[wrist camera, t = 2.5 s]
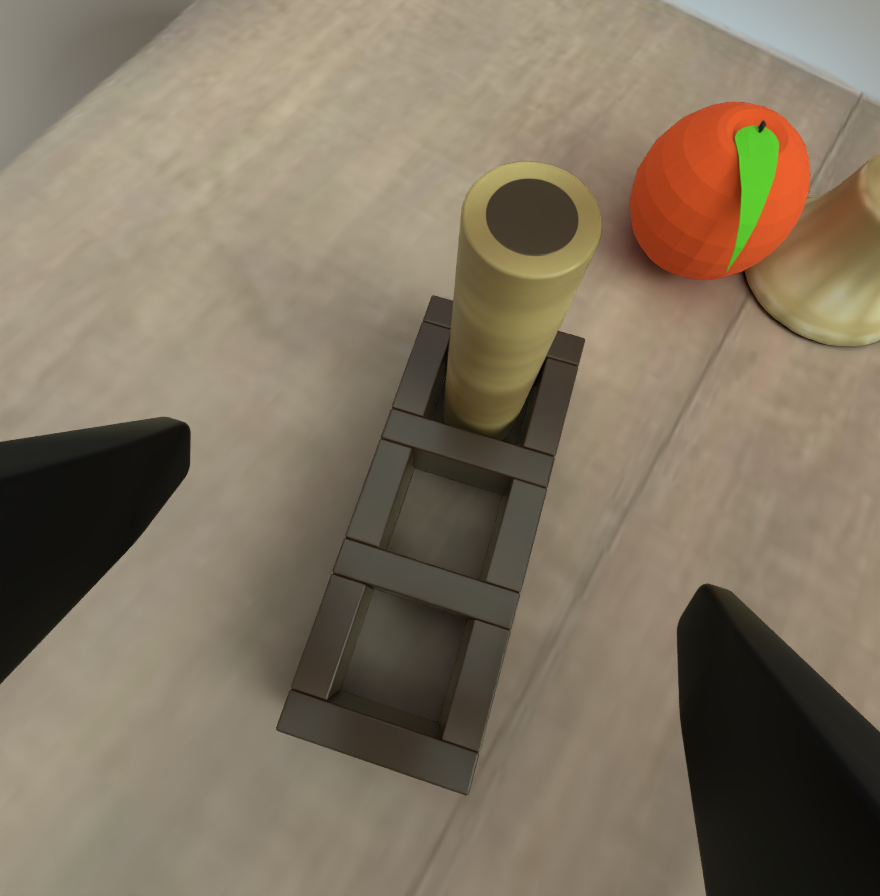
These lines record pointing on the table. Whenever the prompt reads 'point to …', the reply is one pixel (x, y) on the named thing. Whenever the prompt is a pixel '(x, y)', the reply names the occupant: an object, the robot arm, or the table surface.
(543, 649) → the table surface
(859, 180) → the hand bell
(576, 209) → the tan hollow tube
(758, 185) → the clementine
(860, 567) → the table surface
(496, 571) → the rack
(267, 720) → the table surface
